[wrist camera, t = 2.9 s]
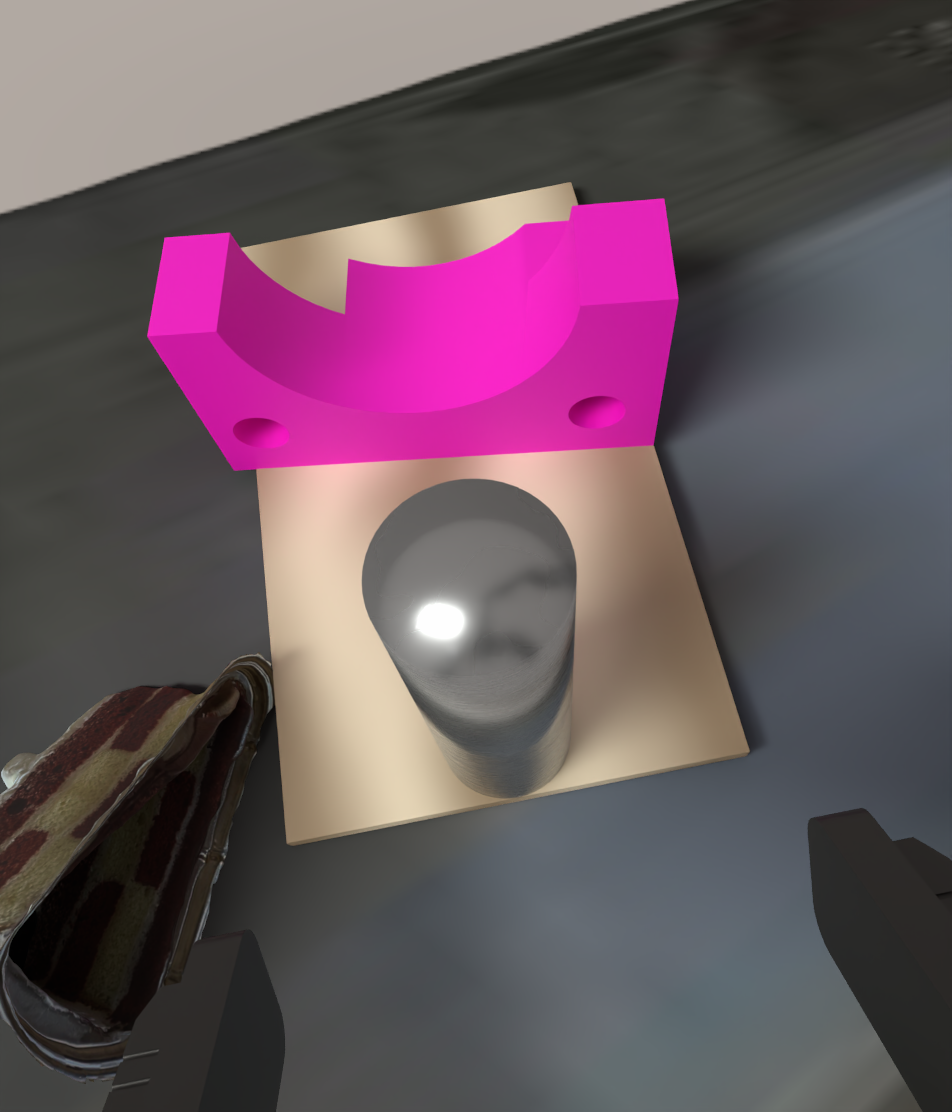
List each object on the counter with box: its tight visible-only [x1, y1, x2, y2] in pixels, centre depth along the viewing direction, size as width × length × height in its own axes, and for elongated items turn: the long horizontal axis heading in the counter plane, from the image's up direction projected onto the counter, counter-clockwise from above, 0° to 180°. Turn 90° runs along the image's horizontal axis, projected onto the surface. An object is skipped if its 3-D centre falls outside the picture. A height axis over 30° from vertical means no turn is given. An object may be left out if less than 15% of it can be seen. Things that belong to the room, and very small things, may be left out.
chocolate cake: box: [0, 652, 275, 1084], centre depth 26 cm, size 10×7×12 cm
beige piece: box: [241, 182, 750, 846], centre depth 27 cm, size 14×24×13 cm, turn 10°
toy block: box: [147, 199, 679, 470], centre depth 30 cm, size 15×6×8 cm, turn 91°
